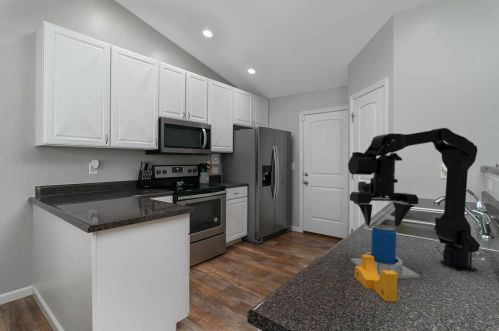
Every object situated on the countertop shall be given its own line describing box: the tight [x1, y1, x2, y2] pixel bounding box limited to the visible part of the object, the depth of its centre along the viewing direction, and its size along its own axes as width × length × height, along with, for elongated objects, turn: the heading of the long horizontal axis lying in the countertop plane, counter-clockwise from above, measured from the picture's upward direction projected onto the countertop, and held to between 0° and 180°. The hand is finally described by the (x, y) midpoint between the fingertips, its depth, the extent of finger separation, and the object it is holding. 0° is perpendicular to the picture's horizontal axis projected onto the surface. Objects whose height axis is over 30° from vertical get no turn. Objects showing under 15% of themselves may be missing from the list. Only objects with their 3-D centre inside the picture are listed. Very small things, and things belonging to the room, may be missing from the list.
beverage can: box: [370, 224, 397, 264], centre depth 73 cm, size 6×6×12 cm
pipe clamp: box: [354, 254, 399, 303], centre depth 62 cm, size 12×4×6 cm, turn 1°
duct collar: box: [350, 251, 421, 279], centre depth 73 cm, size 14×12×3 cm
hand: (382, 225), depth 74 cm, fingers open, 9 cm apart
